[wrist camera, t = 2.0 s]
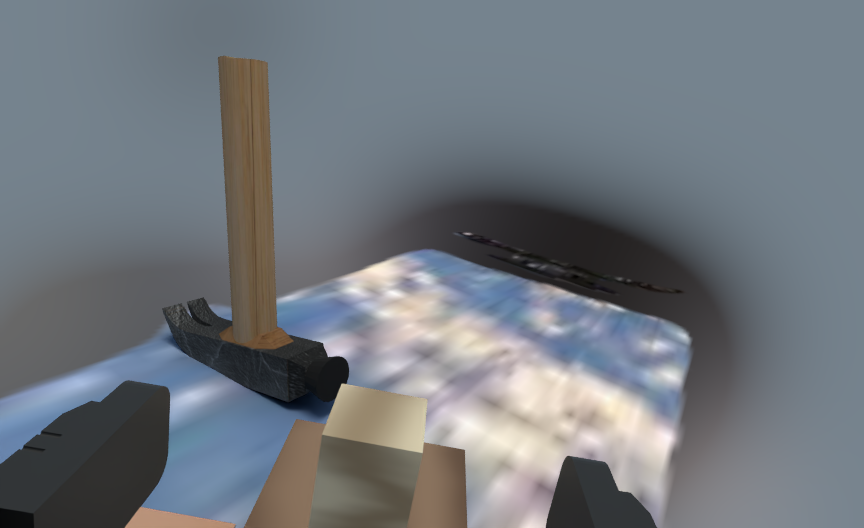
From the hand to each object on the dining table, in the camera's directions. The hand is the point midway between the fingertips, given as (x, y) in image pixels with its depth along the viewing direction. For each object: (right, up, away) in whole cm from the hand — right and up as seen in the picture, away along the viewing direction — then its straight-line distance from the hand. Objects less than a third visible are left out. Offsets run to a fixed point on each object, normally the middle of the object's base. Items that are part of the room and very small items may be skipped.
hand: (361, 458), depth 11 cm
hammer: (-17, -7, +44) cm, 47 cm away
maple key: (-4, -18, +17) cm, 25 cm away
